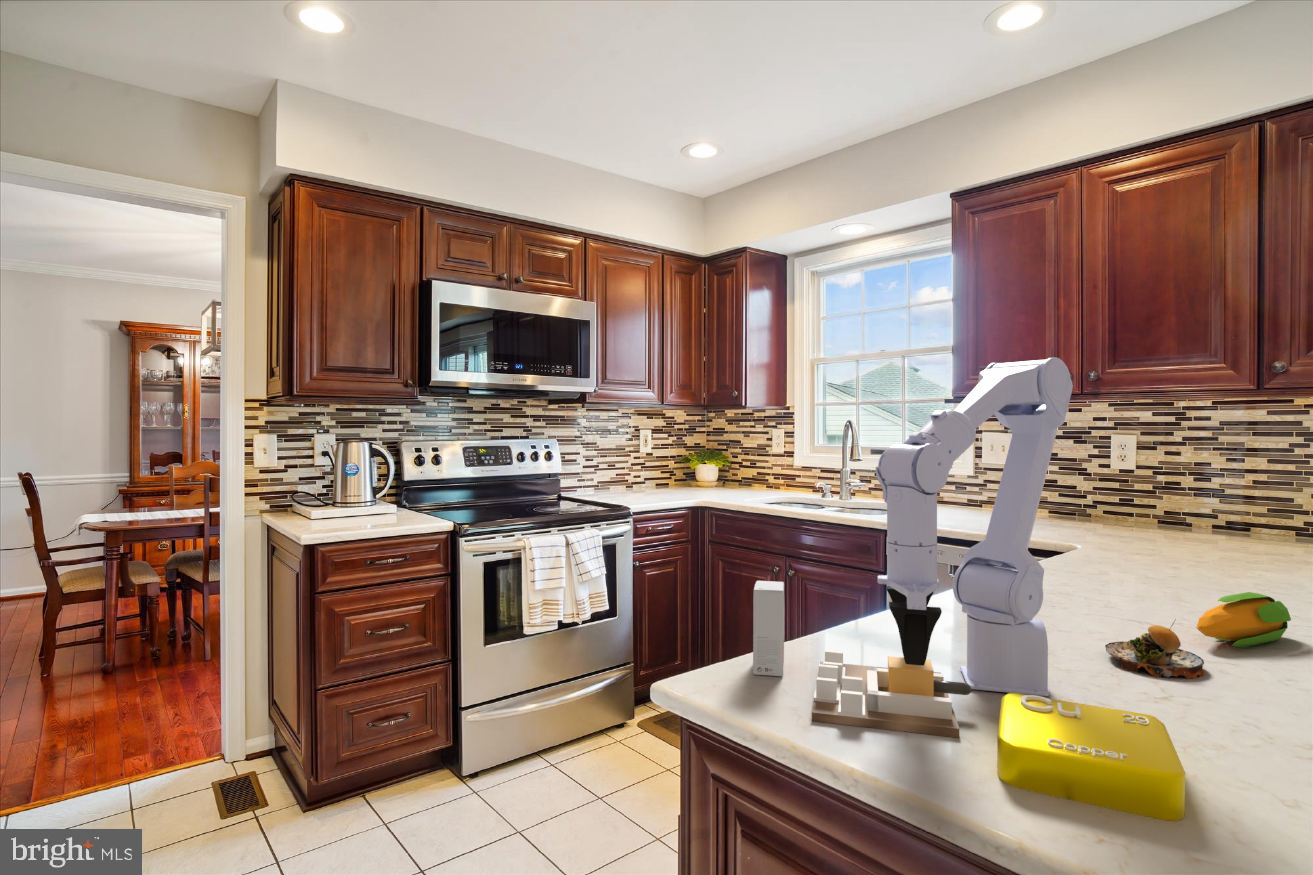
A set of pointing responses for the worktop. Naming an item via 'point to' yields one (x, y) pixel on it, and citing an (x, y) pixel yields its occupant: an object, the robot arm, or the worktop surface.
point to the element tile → (1090, 756)
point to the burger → (1157, 654)
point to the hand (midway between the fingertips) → (912, 653)
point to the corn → (1245, 619)
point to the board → (881, 719)
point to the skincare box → (768, 628)
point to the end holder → (904, 698)
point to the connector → (919, 679)
